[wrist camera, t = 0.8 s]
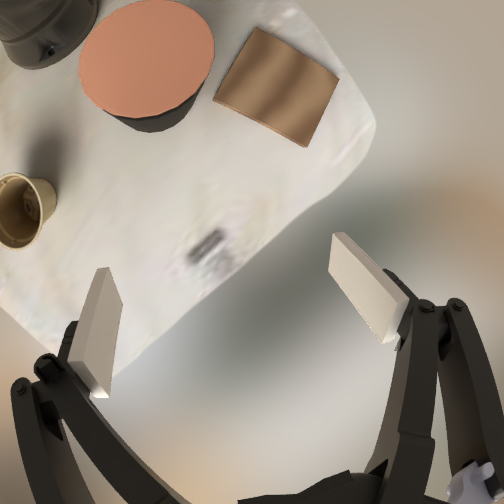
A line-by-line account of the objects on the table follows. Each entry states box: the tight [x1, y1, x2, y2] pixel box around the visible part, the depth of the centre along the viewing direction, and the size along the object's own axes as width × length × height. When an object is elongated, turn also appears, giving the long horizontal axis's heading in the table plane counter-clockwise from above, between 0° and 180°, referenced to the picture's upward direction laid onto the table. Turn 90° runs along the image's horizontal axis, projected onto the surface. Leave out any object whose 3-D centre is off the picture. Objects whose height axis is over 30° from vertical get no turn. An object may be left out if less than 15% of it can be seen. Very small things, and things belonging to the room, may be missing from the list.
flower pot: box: [0, 173, 57, 251], centre depth 27 cm, size 9×9×9 cm
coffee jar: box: [79, 0, 214, 133], centre depth 24 cm, size 11×11×18 cm
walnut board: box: [213, 28, 339, 147], centre depth 35 cm, size 15×13×2 cm
